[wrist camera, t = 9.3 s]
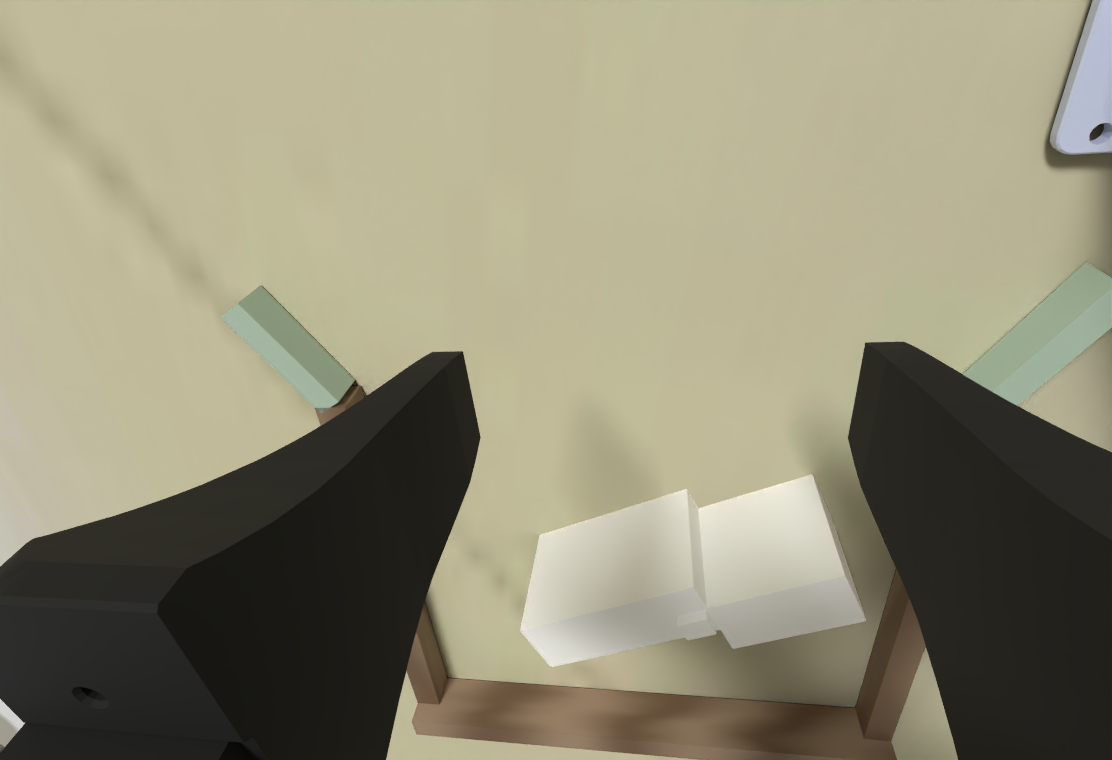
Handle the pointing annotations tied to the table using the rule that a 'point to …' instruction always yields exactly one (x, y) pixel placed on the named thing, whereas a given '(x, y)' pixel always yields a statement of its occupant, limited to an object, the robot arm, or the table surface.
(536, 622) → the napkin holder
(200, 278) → the table surface
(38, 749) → the robot arm
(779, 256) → the table surface
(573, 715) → the napkin dock
